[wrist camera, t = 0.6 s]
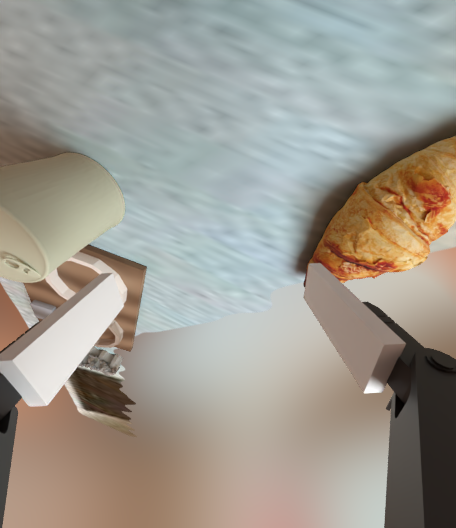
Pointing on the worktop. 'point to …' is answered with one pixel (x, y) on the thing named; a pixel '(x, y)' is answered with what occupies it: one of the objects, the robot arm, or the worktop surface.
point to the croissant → (393, 217)
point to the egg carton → (102, 361)
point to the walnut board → (80, 276)
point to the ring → (91, 263)
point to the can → (53, 213)
